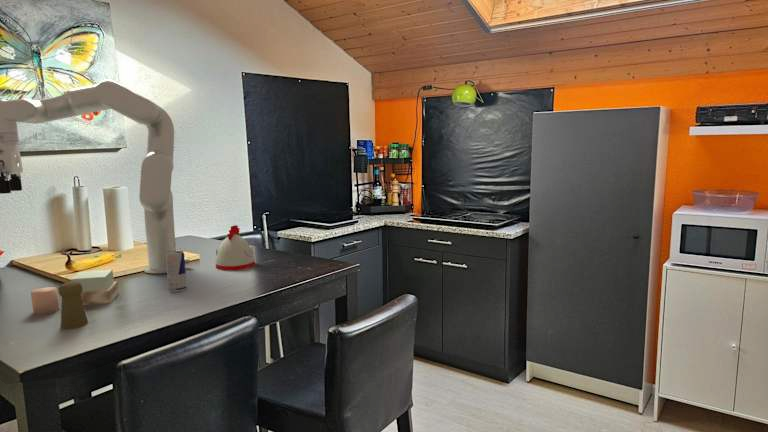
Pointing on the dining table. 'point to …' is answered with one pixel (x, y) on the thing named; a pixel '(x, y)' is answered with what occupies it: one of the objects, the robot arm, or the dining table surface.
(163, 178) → the robot arm
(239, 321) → the dining table surface
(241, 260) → the white beanie hat
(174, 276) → the energy drink
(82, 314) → the olive pepper mill
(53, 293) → the pink cube
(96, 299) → the tower base
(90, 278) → the tower top
